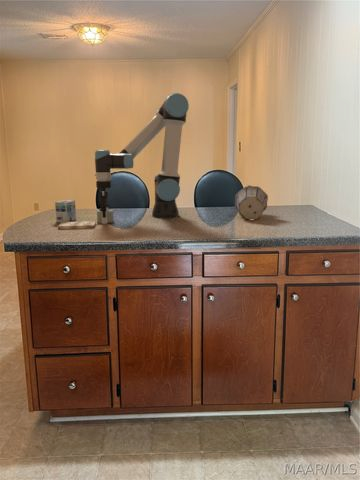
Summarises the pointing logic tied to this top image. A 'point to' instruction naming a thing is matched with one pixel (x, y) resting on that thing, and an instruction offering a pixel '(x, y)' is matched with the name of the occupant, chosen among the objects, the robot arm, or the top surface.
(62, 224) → the board
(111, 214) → the block
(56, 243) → the top surface
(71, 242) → the top surface
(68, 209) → the light bulb box
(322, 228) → the top surface
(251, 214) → the faceted geometric planter
